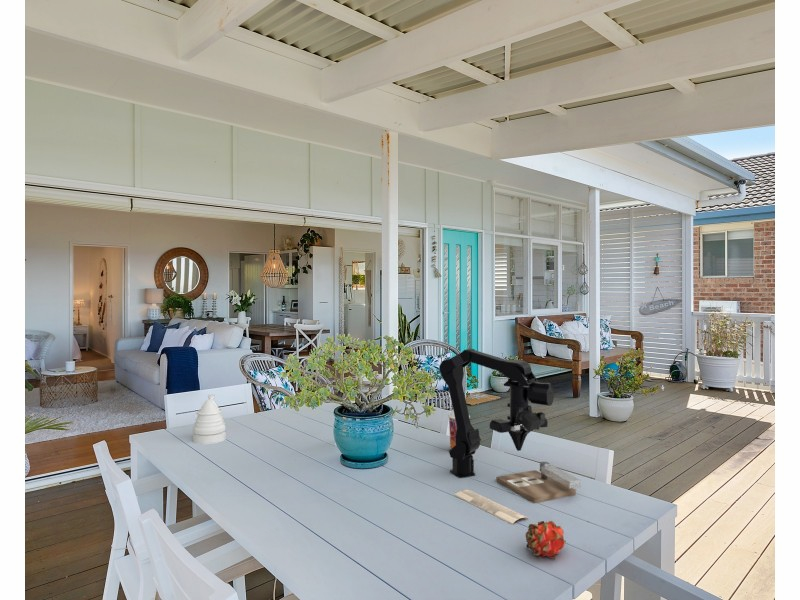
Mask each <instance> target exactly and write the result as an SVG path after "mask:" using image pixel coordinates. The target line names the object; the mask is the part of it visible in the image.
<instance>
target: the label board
mask: <svg viewBox="0 0 800 600" xmlns="http://www.w3.org/2000/svg"><path fill="white" fill-rule="evenodd" d="M496 482H497V483H498V484H500V485H502V486H504V487H505V488H507V489H509V490H511V491H512V492H514V493H515V494H518V495H519V496H522V497H523V498H525V499H526V500H528V501H529V502H531V503H533V504H537V503H543V502H547V501H552V500H556V499H561V498H566V497H571V496H575V495H576V494H577V489H576V488H568V487H566V486H564V485H563V484H561V483H559V482H557V481H555V480H554V479H552V478H550V477H548V476H546V475H545V474H543V473H541V471H538V470H536V469H534V470H528V471H523V472H518V473H517V472H516V473H511V474H505V475H500V476H496Z"/></svg>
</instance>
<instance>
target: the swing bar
mask: <svg viewBox="0 0 800 600" xmlns="http://www.w3.org/2000/svg"><path fill="white" fill-rule="evenodd" d="M539 472H540V473H543V474H545V475H546V476H548V477H550V478H552V479H554V480H555V481H557V482H559V483H561V484H563V485H564V486H566V487H568V488H573V489H575V488H578V487H579V488H580V487H581V479H579V478H577V477H575V476H574V475H572V474H570V473H568V472H566V471H564V470H562V469H560V468H558V467H557V466H554V465H552V464H550V463H549V462H548V461H540V462H539Z"/></svg>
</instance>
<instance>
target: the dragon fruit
mask: <svg viewBox="0 0 800 600" xmlns="http://www.w3.org/2000/svg"><path fill="white" fill-rule="evenodd" d="M564 533H565V532H564V530H563V527H561V525H557V524H556V523H555V521H553V520H549V521H548V522H547V521H544V520H541V521H538V522H537V523H530V524H528V528H527V531H526V532H525V538H526V539H525V540H526V542H527V543H526V545H525V546H526V549H528V550H531V551H532V554H533V555H534V556H538V557H539V558H541V559H542V558H543V557H545V556H546V557H548V558H550V559H552V558H553V560H554V559H555V560H556V559H557V555H559V553H560V552H561V551H562V549H563V548H564V546H565V543H566V540H565V539H564Z"/></svg>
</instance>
